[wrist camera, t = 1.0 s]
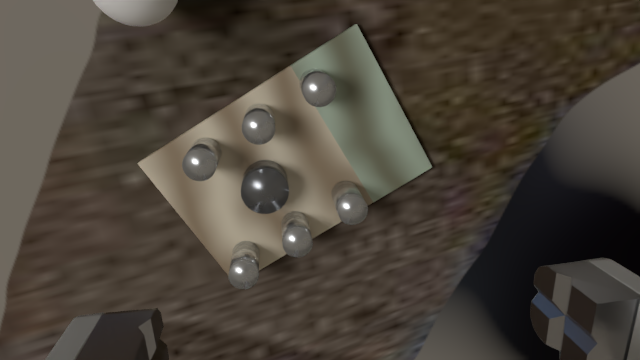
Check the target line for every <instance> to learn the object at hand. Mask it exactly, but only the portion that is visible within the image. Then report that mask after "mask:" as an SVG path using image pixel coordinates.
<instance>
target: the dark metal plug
mask: <svg viewBox="0 0 640 360" xmlns="http://www.w3.org/2000/svg"><path fill="white" fill-rule="evenodd" d="M288 196H289V187H288V179H287V174H286V172H285V170H284V169H283V168H282V167H281V166H280V165H279V164H278V163H276V162H274V161H271V160H260V161H256V162H254V163H252V164H251V165H250V166H249V167H248V168H247V169H246V171H245V173H244V175H243V180H242V185H241V197H242V200H243V202H244V204H245V205H246V206H247V207H248V208H249V209H250V210H252V211H254V212H256V213H260V214H270V213H273V212H276V211H278V210H279V209H281V208H282V207H283V206H284V205H285V203H286V201H287V199H288Z"/></svg>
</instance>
